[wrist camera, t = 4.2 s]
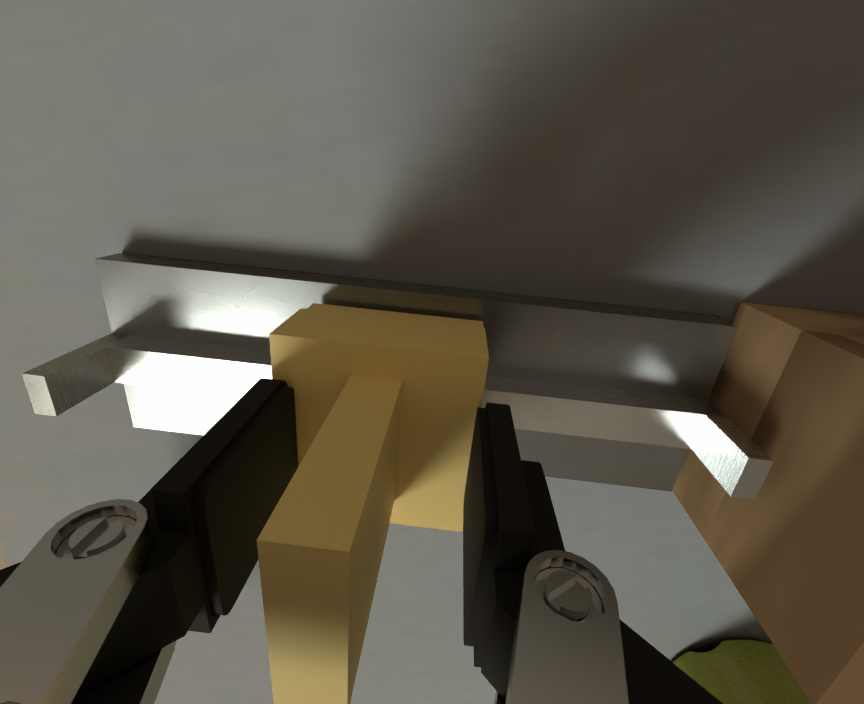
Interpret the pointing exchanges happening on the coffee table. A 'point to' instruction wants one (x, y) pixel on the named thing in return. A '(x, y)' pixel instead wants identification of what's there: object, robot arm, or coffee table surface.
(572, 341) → the rail
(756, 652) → the plant pot
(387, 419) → the carriage
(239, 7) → the coffee table surface
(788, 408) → the wooden box
